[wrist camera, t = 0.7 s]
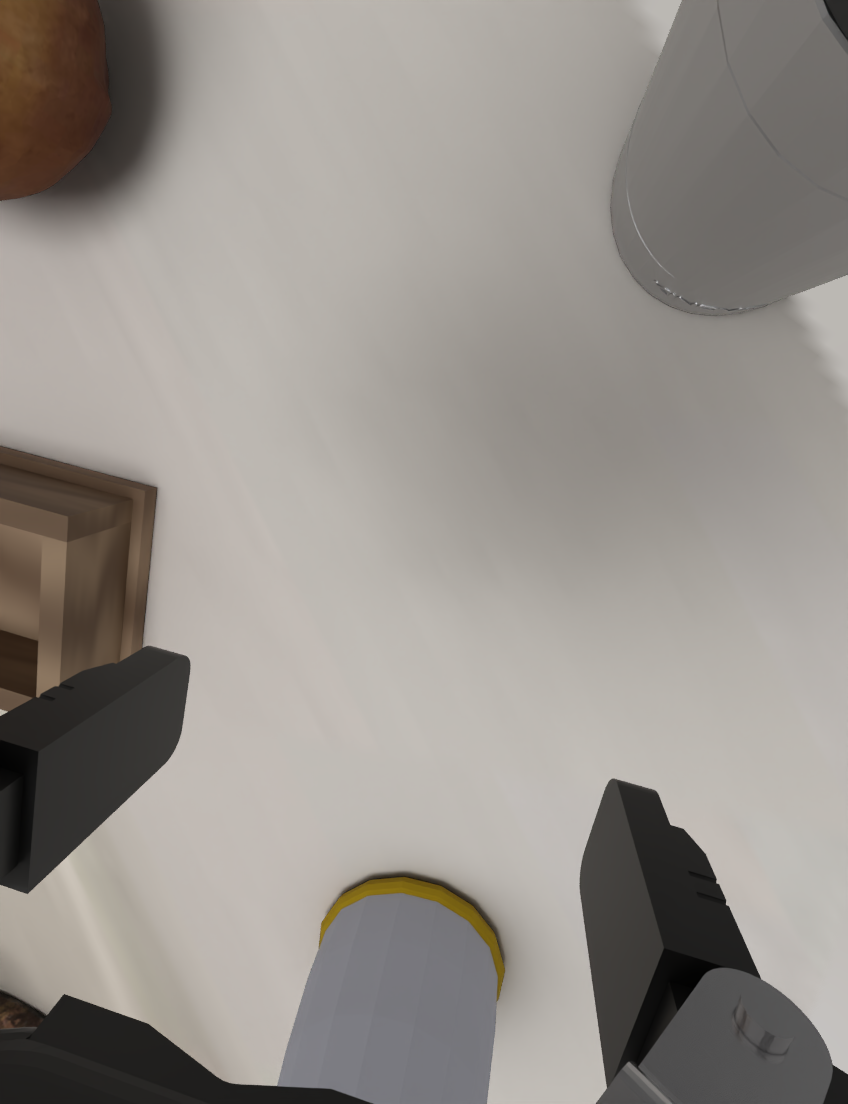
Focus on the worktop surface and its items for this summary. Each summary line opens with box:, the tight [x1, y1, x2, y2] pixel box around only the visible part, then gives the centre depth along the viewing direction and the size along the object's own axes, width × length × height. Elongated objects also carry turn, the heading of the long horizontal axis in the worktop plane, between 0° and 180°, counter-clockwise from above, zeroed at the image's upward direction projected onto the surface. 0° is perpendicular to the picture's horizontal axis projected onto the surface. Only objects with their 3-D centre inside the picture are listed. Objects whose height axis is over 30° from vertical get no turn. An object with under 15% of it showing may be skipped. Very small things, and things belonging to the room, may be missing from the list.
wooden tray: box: [0, 446, 157, 712], centre depth 31 cm, size 12×12×6 cm
